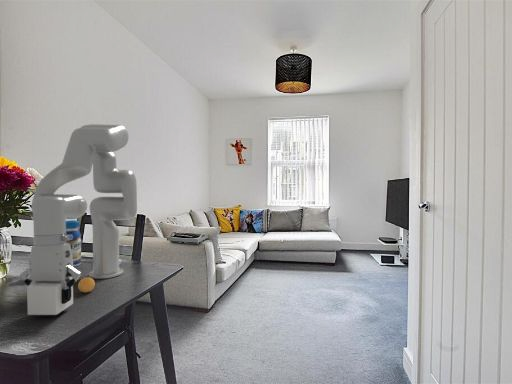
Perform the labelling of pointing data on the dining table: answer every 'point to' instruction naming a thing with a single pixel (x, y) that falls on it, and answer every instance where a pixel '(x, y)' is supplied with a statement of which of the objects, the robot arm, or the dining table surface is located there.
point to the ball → (86, 284)
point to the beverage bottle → (74, 241)
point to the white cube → (46, 298)
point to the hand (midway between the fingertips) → (51, 301)
